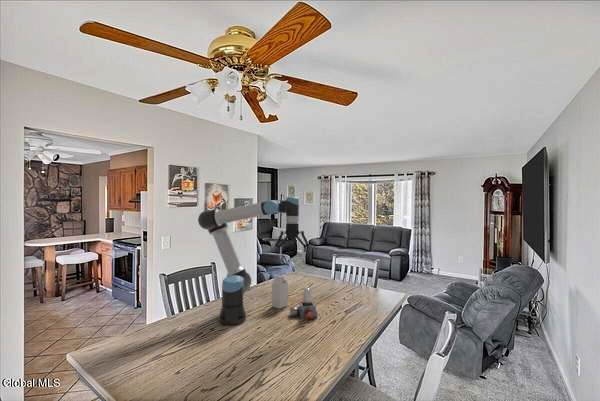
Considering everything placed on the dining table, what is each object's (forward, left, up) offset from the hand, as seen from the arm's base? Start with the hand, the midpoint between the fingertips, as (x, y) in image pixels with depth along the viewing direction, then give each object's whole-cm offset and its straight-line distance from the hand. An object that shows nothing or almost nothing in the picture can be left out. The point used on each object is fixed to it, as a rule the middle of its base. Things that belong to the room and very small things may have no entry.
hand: (291, 258), depth 171 cm
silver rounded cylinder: (+9, -4, -29) cm, 31 cm away
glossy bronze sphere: (+13, +4, -33) cm, 36 cm away
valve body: (+6, -5, -33) cm, 34 cm away
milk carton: (-6, +12, -33) cm, 36 cm away
